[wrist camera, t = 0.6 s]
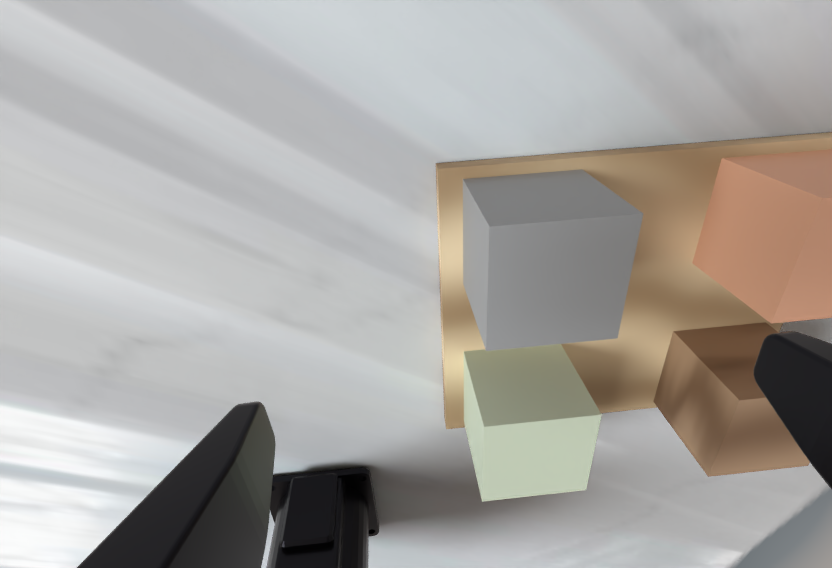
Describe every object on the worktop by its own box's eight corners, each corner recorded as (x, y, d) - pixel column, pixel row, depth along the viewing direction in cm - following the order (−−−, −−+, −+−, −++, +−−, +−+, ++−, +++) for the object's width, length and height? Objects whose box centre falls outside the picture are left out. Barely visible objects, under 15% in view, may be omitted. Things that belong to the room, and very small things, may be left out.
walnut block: (737, 392, 27) (808, 465, 22) (653, 401, 26) (708, 476, 22) (765, 322, 24) (851, 388, 20) (673, 331, 24) (739, 400, 19)
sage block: (550, 412, 26) (585, 490, 22) (463, 421, 26) (482, 501, 22) (559, 342, 24) (601, 414, 19) (463, 351, 23) (484, 426, 19)
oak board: (741, 387, 28) (751, 397, 27) (444, 418, 27) (446, 428, 26) (846, 130, 20) (863, 134, 19) (435, 163, 19) (438, 168, 18)
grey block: (568, 274, 22) (617, 338, 17) (463, 283, 21) (485, 351, 17) (582, 169, 19) (643, 213, 15) (462, 179, 19) (489, 226, 14)
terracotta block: (793, 254, 22) (895, 311, 18) (692, 263, 22) (771, 323, 17) (835, 149, 19) (967, 186, 15) (721, 158, 19) (822, 198, 15)
